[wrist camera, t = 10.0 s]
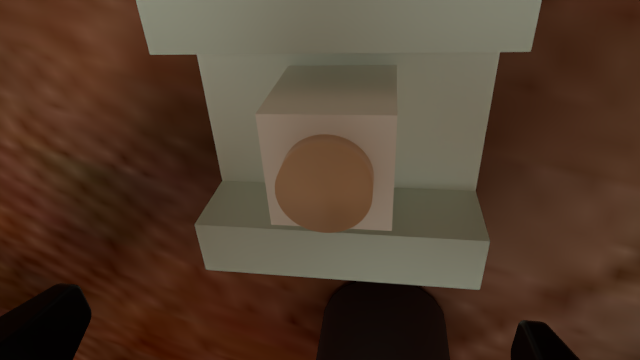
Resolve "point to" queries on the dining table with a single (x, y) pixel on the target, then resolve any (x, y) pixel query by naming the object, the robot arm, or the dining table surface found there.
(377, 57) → the notch board
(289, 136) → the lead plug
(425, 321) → the bottle
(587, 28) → the dining table surface
